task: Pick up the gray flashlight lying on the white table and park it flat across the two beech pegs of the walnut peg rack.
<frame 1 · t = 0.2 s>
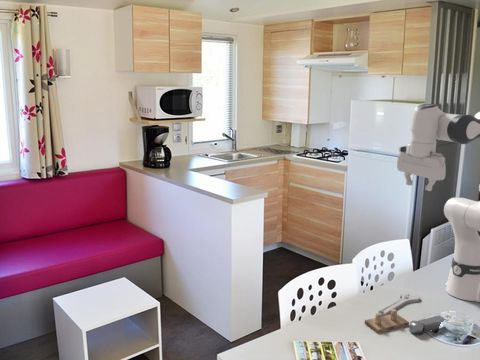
hand: (418, 187, 169), 47 cm above the table, tool pointing down, fingers open, 8 cm apart
peg rack: (386, 324, 167), on the table
gray flashlight: (431, 327, 165), on the table
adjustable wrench: (396, 306, 182), on the table
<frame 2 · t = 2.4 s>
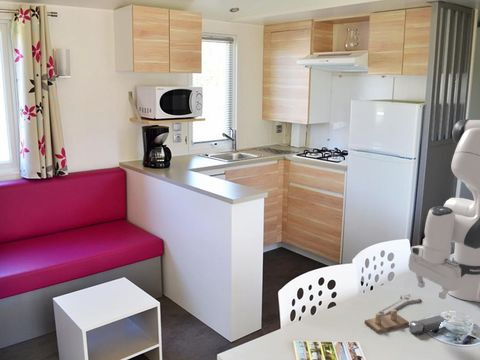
hand: (431, 292, 161), 14 cm above the table, tool pointing down, fingers open, 8 cm apart
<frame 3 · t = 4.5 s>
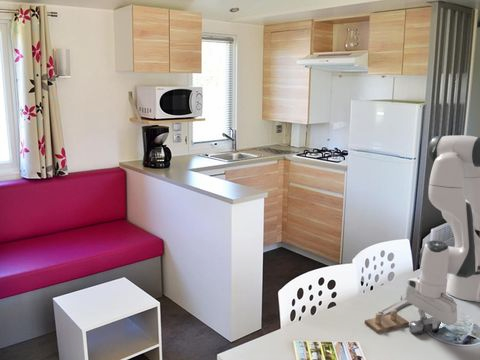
hand: (428, 324, 164), 2 cm above the table, tool pointing down, fingers closed on gray flashlight, 3 cm apart
gray flashlight: (431, 327, 165), on the table, touching gripper
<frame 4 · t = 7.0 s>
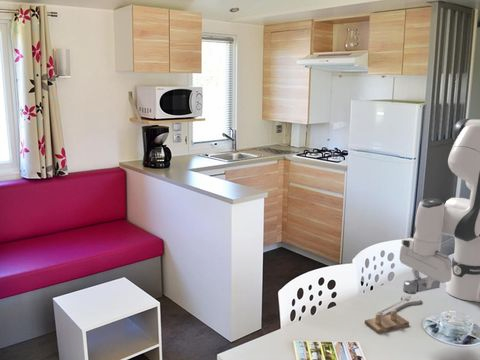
hand: (422, 284, 161), 17 cm above the table, tool pointing down, fingers closed on gray flashlight, 3 cm apart
gray flashlight: (425, 288, 162), point 15 cm above the table, touching gripper
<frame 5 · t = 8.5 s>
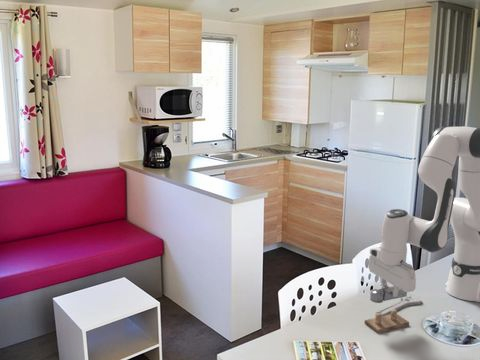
hand: (389, 293, 164), 12 cm above the table, tool pointing down, fingers closed on gray flashlight, 3 cm apart
gray flashlight: (392, 296, 165), point 10 cm above the table, touching gripper
when the fingers open (8 cm above the table, at t = 9.5 s): gray flashlight drops 1 cm, resting on peg rack.
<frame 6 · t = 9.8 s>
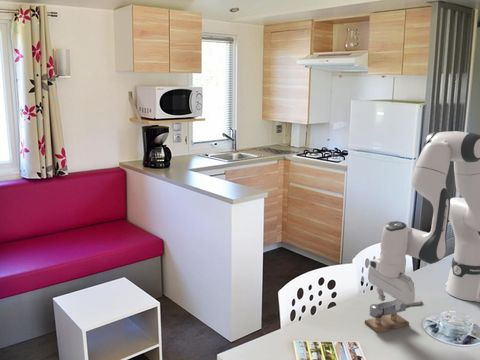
hand: (388, 304, 165), 8 cm above the table, tool pointing down, fingers open, 6 cm apart
gray flashlight: (391, 311, 166), point 5 cm above the table, touching peg rack
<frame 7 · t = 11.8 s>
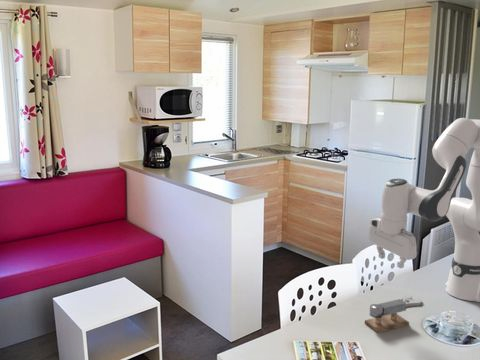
hand: (390, 262, 165), 22 cm above the table, tool pointing down, fingers open, 8 cm apart
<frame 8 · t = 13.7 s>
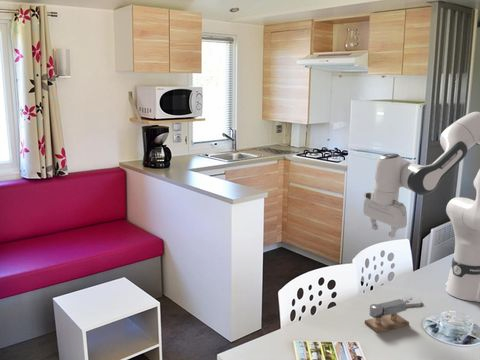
hand: (382, 233, 175), 29 cm above the table, tool pointing down, fingers open, 8 cm apart
at the end: gray flashlight 0.6 cm from the target spot on the peg rack, point 4.7 cm above the peg rack's base; gray flashlight touching peg rack; the gripper is holding nothing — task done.
